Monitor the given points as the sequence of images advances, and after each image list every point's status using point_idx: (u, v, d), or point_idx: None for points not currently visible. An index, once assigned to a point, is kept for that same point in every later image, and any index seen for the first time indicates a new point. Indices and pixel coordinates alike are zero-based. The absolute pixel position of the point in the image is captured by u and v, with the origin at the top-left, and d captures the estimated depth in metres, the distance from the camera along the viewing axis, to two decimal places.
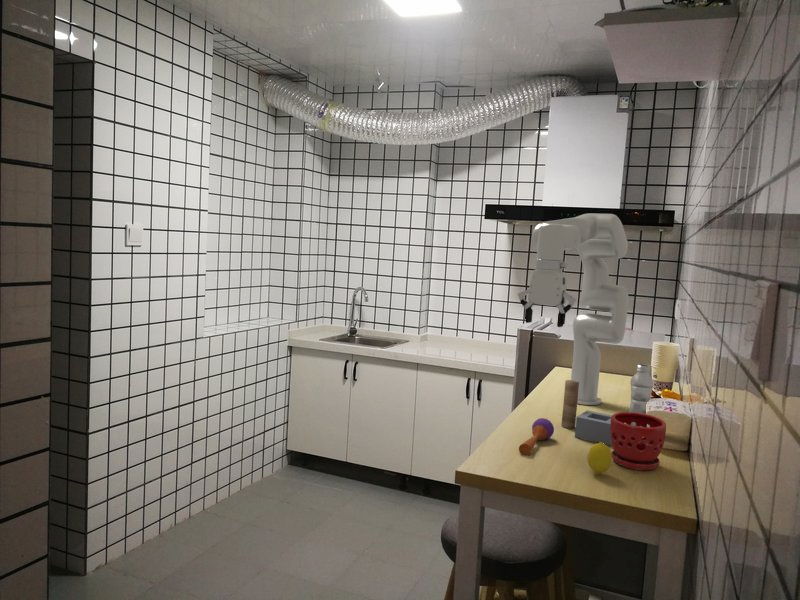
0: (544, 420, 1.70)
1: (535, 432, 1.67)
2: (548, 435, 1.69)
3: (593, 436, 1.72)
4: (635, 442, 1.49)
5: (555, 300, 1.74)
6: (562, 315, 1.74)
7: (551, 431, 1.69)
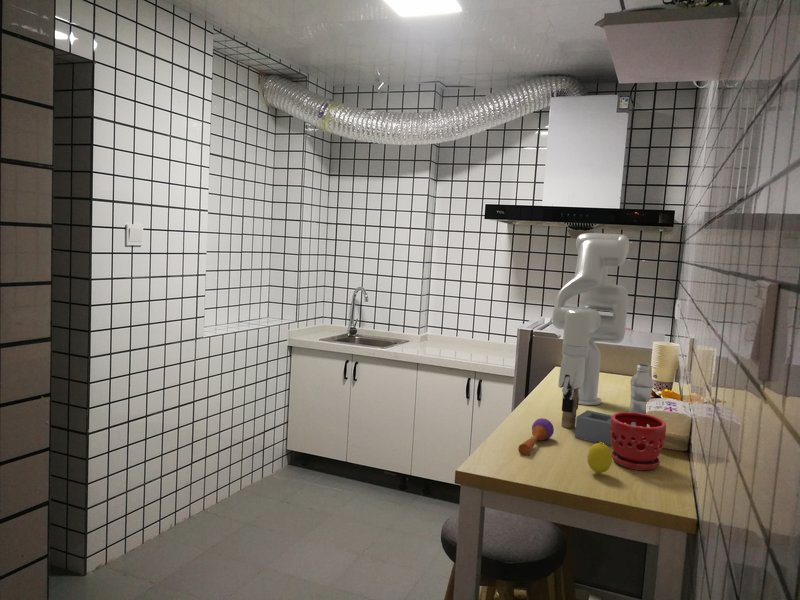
0: (544, 420, 1.70)
1: (535, 432, 1.66)
2: (548, 435, 1.69)
3: (593, 436, 1.72)
4: (635, 442, 1.49)
5: (582, 381, 1.85)
6: None
7: (550, 431, 1.69)
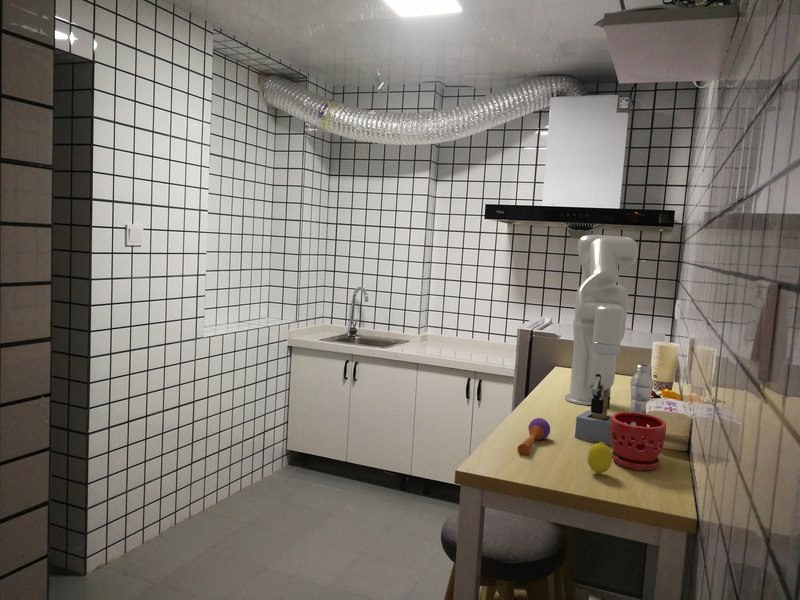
0: (540, 420, 1.70)
1: (532, 432, 1.66)
2: (545, 435, 1.69)
3: (593, 436, 1.72)
4: (635, 442, 1.49)
5: (613, 381, 1.76)
6: None
7: (547, 430, 1.69)
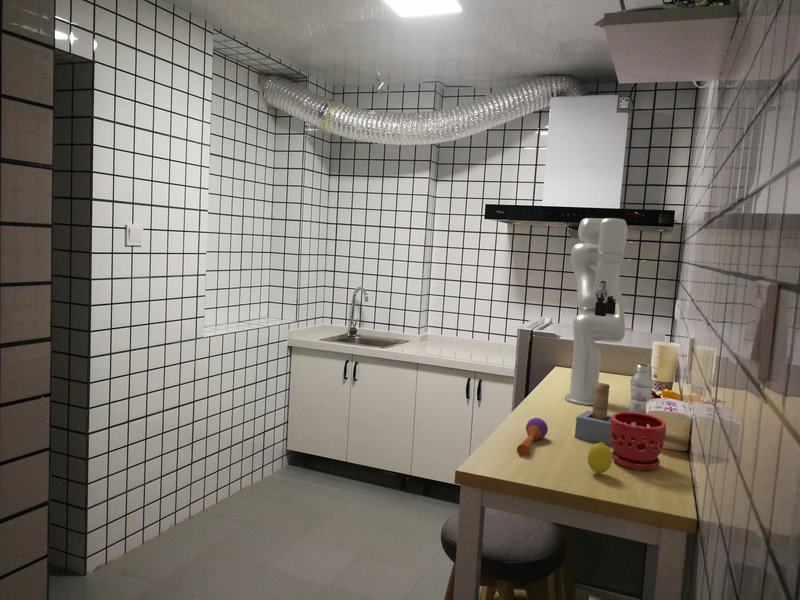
0: (538, 419, 1.70)
1: (530, 432, 1.66)
2: (542, 435, 1.69)
3: (593, 436, 1.72)
4: (635, 442, 1.49)
5: (617, 290, 1.88)
6: None
7: (545, 430, 1.69)
